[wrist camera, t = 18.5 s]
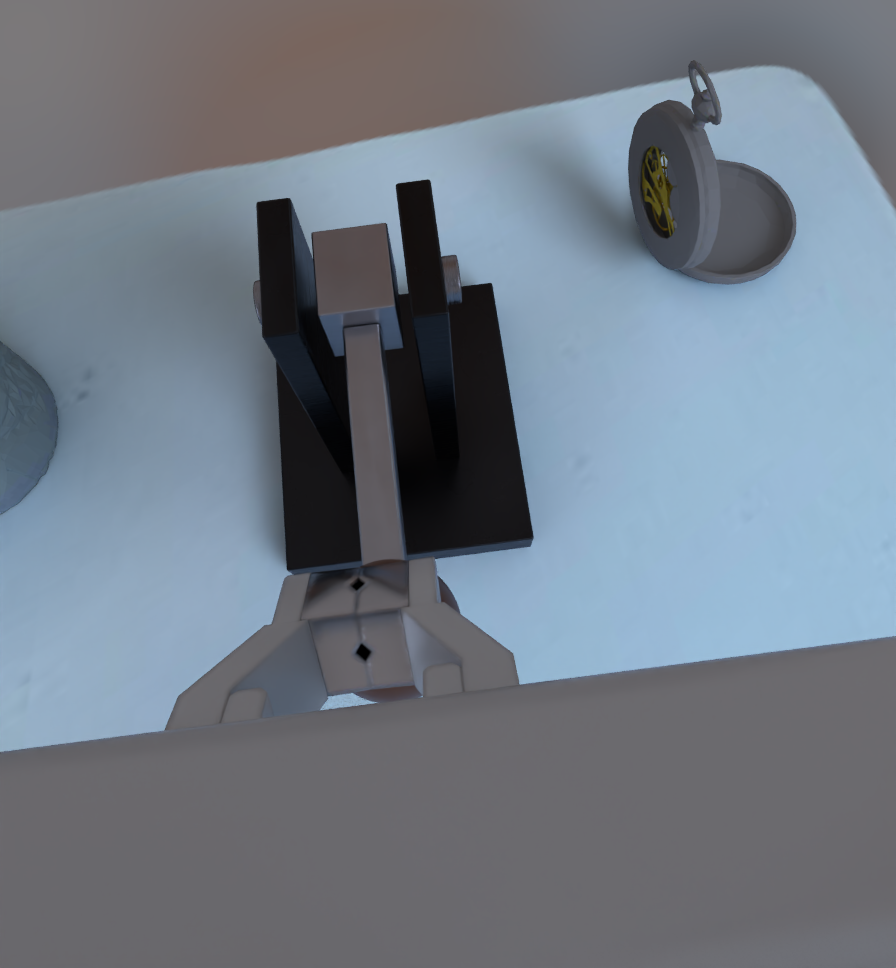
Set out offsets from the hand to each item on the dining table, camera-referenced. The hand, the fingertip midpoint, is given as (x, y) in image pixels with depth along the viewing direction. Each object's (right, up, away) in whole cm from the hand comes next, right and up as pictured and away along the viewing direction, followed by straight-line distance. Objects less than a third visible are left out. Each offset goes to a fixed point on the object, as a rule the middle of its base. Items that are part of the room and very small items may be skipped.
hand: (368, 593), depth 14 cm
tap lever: (0, +2, +7) cm, 7 cm away
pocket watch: (+13, +14, +20) cm, 28 cm away
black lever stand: (-1, +5, +17) cm, 18 cm away
